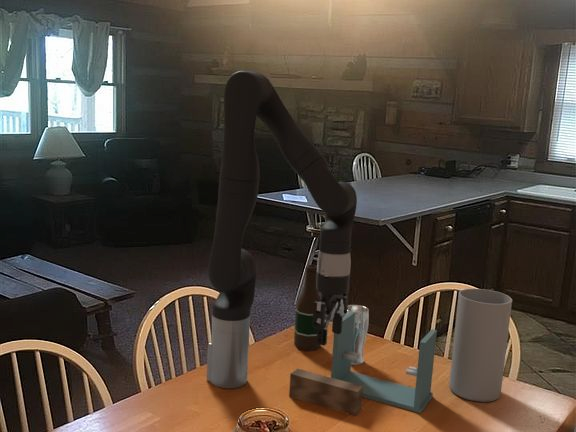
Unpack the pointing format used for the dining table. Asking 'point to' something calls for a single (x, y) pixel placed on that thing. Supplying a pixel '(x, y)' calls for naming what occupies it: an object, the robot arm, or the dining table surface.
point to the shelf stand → (377, 387)
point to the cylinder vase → (480, 344)
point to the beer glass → (359, 330)
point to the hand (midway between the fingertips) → (329, 338)
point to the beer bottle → (307, 313)
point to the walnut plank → (326, 391)
